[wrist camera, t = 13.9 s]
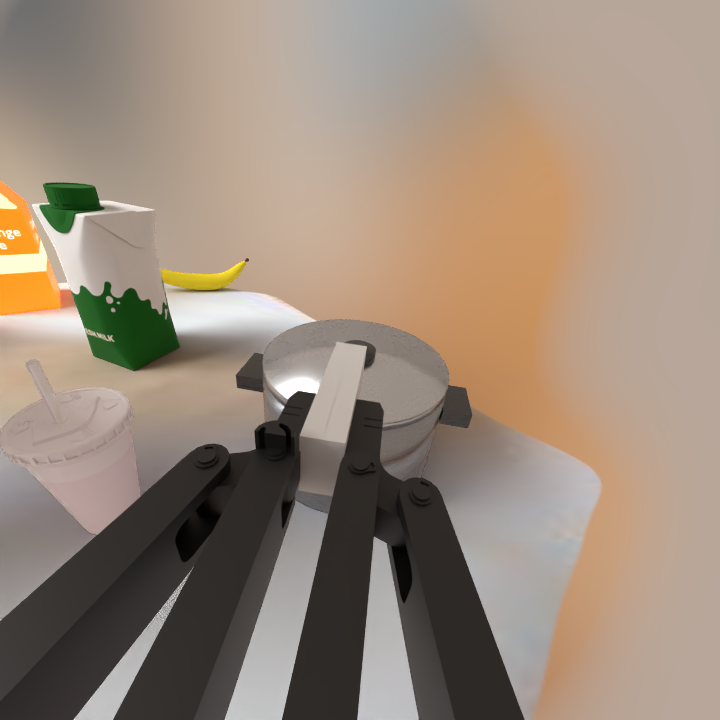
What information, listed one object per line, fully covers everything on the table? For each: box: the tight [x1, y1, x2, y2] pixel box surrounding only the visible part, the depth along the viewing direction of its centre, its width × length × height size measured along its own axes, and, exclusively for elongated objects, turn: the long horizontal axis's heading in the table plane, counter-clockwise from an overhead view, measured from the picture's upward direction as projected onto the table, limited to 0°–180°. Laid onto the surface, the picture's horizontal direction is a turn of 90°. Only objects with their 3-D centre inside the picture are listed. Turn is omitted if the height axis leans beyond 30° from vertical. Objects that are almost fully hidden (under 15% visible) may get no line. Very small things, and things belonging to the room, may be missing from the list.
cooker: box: [236, 353, 472, 513], centre depth 31 cm, size 18×21×9 cm
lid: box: [263, 320, 449, 431], centre depth 29 cm, size 16×16×2 cm
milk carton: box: [32, 183, 180, 371], centre depth 39 cm, size 9×9×20 cm
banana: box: [160, 258, 249, 290], centre depth 63 cm, size 3×19×6 cm, turn 111°
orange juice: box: [0, 181, 61, 315], centre depth 48 cm, size 8×9×20 cm
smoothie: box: [0, 359, 141, 534], centre depth 22 cm, size 6×6×14 cm
